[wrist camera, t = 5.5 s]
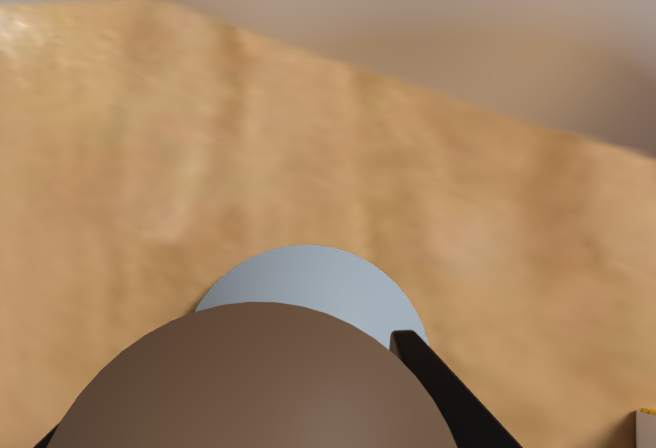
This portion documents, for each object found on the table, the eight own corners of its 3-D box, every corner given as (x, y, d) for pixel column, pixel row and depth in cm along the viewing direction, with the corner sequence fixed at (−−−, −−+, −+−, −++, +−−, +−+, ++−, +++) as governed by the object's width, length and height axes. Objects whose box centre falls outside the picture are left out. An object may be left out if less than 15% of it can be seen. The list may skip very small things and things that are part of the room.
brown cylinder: (324, 470, 14) (352, 954, 3) (217, 410, 14) (-88, 657, 3) (378, 356, 15) (541, 424, 4) (276, 302, 15) (177, 232, 4)
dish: (427, 509, 18) (435, 521, 17) (168, 499, 18) (158, 511, 17) (424, 254, 21) (431, 250, 20) (198, 244, 21) (191, 239, 19)
